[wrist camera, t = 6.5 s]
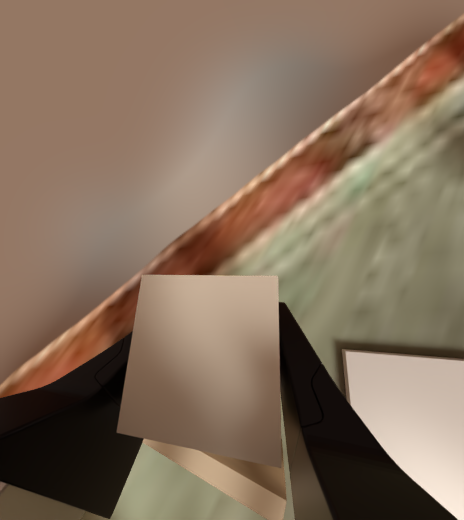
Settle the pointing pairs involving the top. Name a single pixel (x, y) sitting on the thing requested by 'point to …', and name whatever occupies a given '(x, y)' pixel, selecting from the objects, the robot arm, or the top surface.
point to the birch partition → (234, 477)
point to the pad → (414, 416)
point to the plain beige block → (206, 366)
